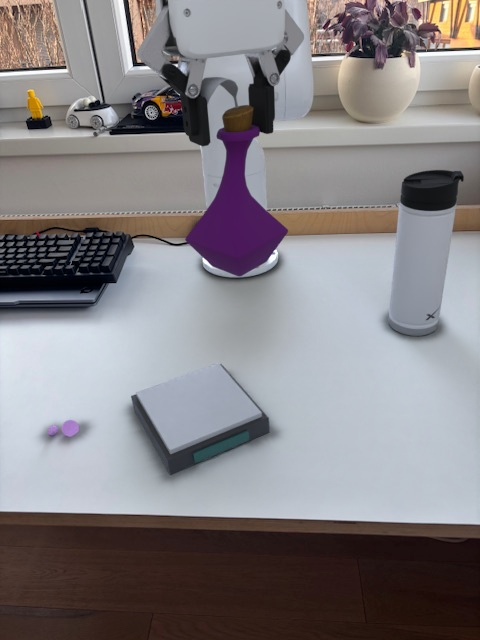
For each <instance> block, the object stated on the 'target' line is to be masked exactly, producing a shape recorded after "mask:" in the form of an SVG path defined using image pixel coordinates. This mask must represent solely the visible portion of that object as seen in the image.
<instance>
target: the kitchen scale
mask: <svg viewBox="0 0 480 640" xmlns="http://www.w3.org/2000/svg"><path fill="white" fill-rule="evenodd" d="M130 398H131V403H132V407H133V408H132V409H133V411H134V412H135V414H136V416H137V418H138V420H139V422H140V423H141V425H142V428H143V429H144V430H145V432H146V434H147V435H148V437H149V439H150V441H151V443H152V445H153V447H154V448H155V450H156V451H157V453H158V456H159V458H160V459H161V461H162V462H163V465H164V466H165V469H166V470H167V471H168V473H169V475H173V474H176V473H178V472H180V471H182V470H185V469H188V468H189V467H193V466H194V465H197V464H199V463H201V462H204V461H206V460H208V459H211V458H213V457H215V456H217V455H220V454H222V453H225V452H227V451H229V450H232V449H234V448H237V447H238V446H241V445H243V444H246V443H248V442H250V441H252V440H255V439H257V438H259V437H262V436H264V435H266V434H269V433H270V419H269V416H267V414H266V413H265V412H264V410H263V409H262V408H260V406H259V405H258V404H257V403H256V402H255V401H254V400H253V398H252V397H251V396H250V395H249V394H248V392H247V391H246V390H245V389H244V388H243V386H241V385H240V384H239V382H238V381H237V380H236V379H235V378H234V377H233V376H232V374H231V373H230V372H229V371H228V370H227V368H225V366H224V365H223V364H222V363H220V362H216V363H214V364H211V365H209V366H206V367H203V368H201V369H198V370H195V371H192V372H189V373H187V374H184V375H181V376H177V377H175V378H172V379H170V380H166V381H164V382H161V383H158V384H155V385H152V386H150V387H147V388H144V389H142V390H139V391H136V392H135V394H132V395H130Z"/></svg>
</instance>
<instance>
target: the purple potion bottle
mask: <svg viewBox="0 0 480 640" xmlns="http://www.w3.org/2000/svg"><path fill="white" fill-rule="evenodd" d="M219 85H221V86H222V87H223V88H225V89H226V90H227V91H228V92H229V93H230V94H231V95H232V96H233V98H234V101H235V107H234V108H231V109H229V110H227V111H225V113H224V114H223V116H222V120H223V124H224V128H221V129H219V130H218V132H217V139H219V140H222V141H223V144H224V146H225V148H226V162H225V167H224V173H223V177H222V180H221V183H220V187H219V189H218V191H217V194H216V196H215V198H214V200H213V201H212V203H211V204H210V206H209V207H208V209H207V208H206V211H205V212H204V213H203V215H202V216H201V217H200V219H199V220H198V221H197V222H196V224H195V225H194V226H193V227H192V229H191V230H190V232H189V233H188V235H186V237H185V239H184V240H185V242H186V243H187V244H188V245H189V246H190V247H191V248H192V249H194V251H196V253H198V255H200V256H201V257H203V258H204V259H205V260H206V261H207V262H208V263H209V264H210V265H211V266H213V267H215V268H218V269H220V270H223V271H226V272H228V273H231V274H233V275H236V276H242V275H244V274H246V273H248V272H249V271H251V270H253V269H255V268H256V267H258V266H260V265H262V264H264V263H265V262H267V261H268V259H269V258H270V256H271V255H272V254H273V252H274V251H275V249H276V250H277V249H278V247H279V246H280V244H281V243H282V241H283V240H284V239H285V237H286V236H287V234H288V233H289V229H288V228H287V227H286V226H285V225H283V224H282V223H281V222H280V221H279V220H278V219H277V218H275V217H274V216H273V215H272V214H271V213H270V212H269V211H268V210H267V211H266V210H265V209H264V208H263V207H262V206H261V205H260V204H259V203H258V202H257V201H256V200H255V199H254V198H253V197H252V196H251V194H250V192H249V190H248V188H247V185H246V179H245V164H246V156H247V150H248V148H249V146H250V144H251V142H252V140H253V138H257V137H259V136H260V133H261V132H260V129H259V127H257V126H255V125H251V124H252V117H253V109H254V108H253V107H251V106H250V105H242V106H238V103H237V98H236V96H237V92H238V86H237V84H236V82H234V81H233V80H231V79H226V78H222V77H209V78H204V79H203V80H202V84H201V88H200V91H201V96H203V97H205V98H206V100H207V105H208V102H209V100H210V98H211V96H212V95H213V93H214V91H215V90H216V88H217V87H218V86H219Z"/></svg>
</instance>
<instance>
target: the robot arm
mask: <svg viewBox="0 0 480 640" xmlns="http://www.w3.org/2000/svg"><path fill="white" fill-rule="evenodd" d="M154 3H155V5H154V6H155V20H154V22H153V24H152V25H151V27H150V29H149V31H147V33H146V35H145V37H144V39H143V40H142V43H141V44H140V45H139V47H138V49H137V52H136V56H137V58H138V59H139V60H140V61H141V62H142V63H143V64H144V65H146V66H147V67H148V68H149V69H150V70H151V71H153V73H156V75H158V77H159V78H160V79H161V80H163V81H164V82H165V83H166V85H168V86H169V87H171V89H173V90H174V93H175V94H177V95H179V96H180V104H181V114H182V124H183V131H184V133H185V135H186V136H188V139H189V142H191V143H193V144H195V145H198V146H199V147H200V155H201V156H200V157H201V166H202V175H203V182H204V183H203V185H204V194H205V195H204V196H205V206H206V210H207V209H208V207H209V206H210V204H211V203H212V201H213V200H214V198H215V196H216V194H217V191H218V189H219V187H220V183H221V180H222V177H223V173H224V167H225V162H226V148H225V146H224V144H223V141H222V140H219V139H217V132H218V130H219V129H221V128H224V124H223V120H222V116H223V114H224V113H225V111H227V110H229V109H231V108H234V107H235V101H234V98H233V96H232V95H231V94H230V93H229V92H228V91H227V90H226V89H225V88H223V87H222V86H221V85H219V86H218V87H217V88H216V90H215V91H214V93H213V95H212V96H211V98H210V100H209V102H208V105H207V100H206V98H205V97H203V96H201V91H200V88H201V84H202V80H203V79H204V78H209V77H222V78H226V79H231V80H233V81H234V82H236V84H237V86H238V92H237V96H236V98H237V103H238V106H242V105H250V106H251V107H253V108H254V109H253V117H252V124H251V125H255V126H257V127H259V129H260V133H262V134H265V135H270V134H273V133H274V122H286V121H294V120H295V121H296V120H299V119H302V118H304V117H305V116H307V114H308V113H309V112H310V111H311V108H312V105H313V102H314V94H315V93H314V91H315V89H314V88H315V86H314V85H315V84H314V69H313V57H312V45H311V33H310V19H309V8H308V0H154ZM164 53H165V54H166V55H168V56H171V57H178V62H177V66H176V65H175V64H174V63H172V62H170V60H168V59H167V57H166V56H165V55H164ZM266 171H267V170H266V156H265V151H264V149H263V147H262V145H261V144H260V142H259V141H258V139H257V137H255V138H253V140H252V142H251V144H250V146H249V148H248V150H247V156H246V164H245V179H246V185H247V188H248V190H249V192H250V194H251V196H252V197H253V198H254V199H255V200H256V201H257V202H258V203H259V204H260V205H261V206H262V207H263V208H264V209H265V210H266V211H267V212H268V197H267V174H266V173H267V172H266ZM201 257H202V256H201ZM201 261H202V266H203V268H204V269H205V270H206V271H207V272H209V273H211V274H213V275H216V276H219V277H223V278H233V279H234V278H237V279H239V278H248V277H253V276H257V275H262V274H264V273H266V272H268V271H270V270H272V269H273V268H274V267H275V266H276V265H277V264H278V261H279V252H278V250H277V248H276V249H275V251H274V252H273V254H272V255H271V256H270V258H269V259H268V261H267V262H265V263H264V264H262V265H260V266H258V267H256V268H255V269H253V270H251V271H249V272H248V273H246V274H244V275H242V276H236V275H233V274H231V273H228V272H226V271H223V270H220V269H218V268H215V267H213V266H211V265H210V264H209V263H208V262H207V261H206V260H205V259H204V258H203V257H202V258H201Z"/></svg>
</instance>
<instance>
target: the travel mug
mask: <svg viewBox="0 0 480 640" xmlns="http://www.w3.org/2000/svg"><path fill="white" fill-rule="evenodd" d="M464 178H465V177H464V174H463V172H462V170H454V171H453V170H446V169H430V170H423V171H418V172H415V173H411V174H409V175H407V176H405V177H404V178H403V181H402V182H401V189H400V199H399V206H398V213H397V214H398V215H397V224H396V235H395V246H394V258H393V266H392V277H391V278H392V279H391V287H390V288H391V289H390V299H389V309H388V310H389V311H388V319H387V321H388V324H389V326H390V328H392V330H394V331H395V332H398V333H400V334H402V335H407V336H411V337H418V336H419V337H420V336H427V335H430V334H432V333H434V332H435V331H436V330H437V329H438V327H439V322H440V315H441V310H442V309H441V308H442V301H443V295H444V289H445V282H446V276H447V270H448V262H449V255H450V249H451V243H452V237H453V230H454V224H455V216H456V208H457V204H458V203H457V201H458V200H457V199H458V193H459V183H460V182H461V183H463V182H464V181H465V180H464Z"/></svg>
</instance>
